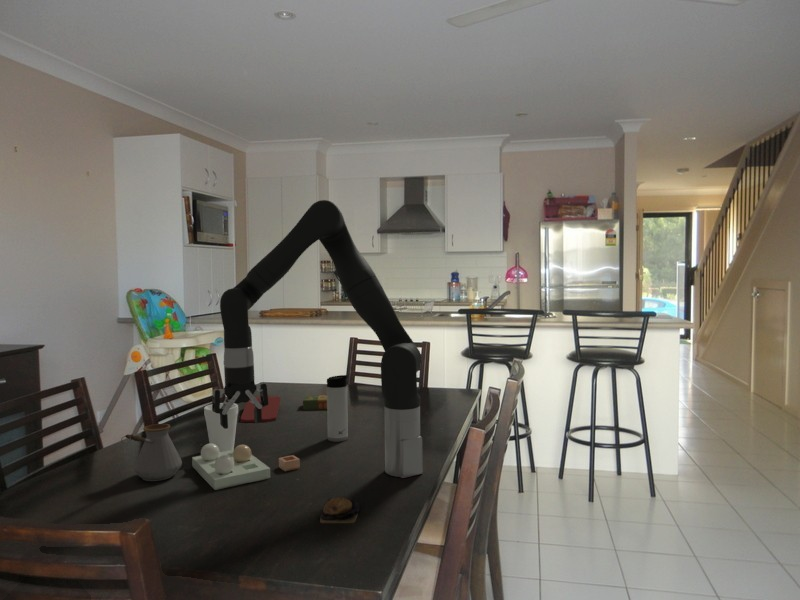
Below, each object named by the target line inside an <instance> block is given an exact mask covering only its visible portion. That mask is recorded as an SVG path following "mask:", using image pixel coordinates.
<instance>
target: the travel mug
mask: <svg viewBox="0 0 800 600" xmlns="http://www.w3.org/2000/svg"><path fill="white" fill-rule="evenodd" d="M348 378H349V375H348V374H342V375H341V374H340V375H333V376H330V377H328V378H326V395H327V409H326V410H327V411H326V412H327V413H326V416H327V418H326V419H327V420H326V421H327V441H329V442H332V443H340V442H341V443H342V442H345V441H347V440H348V439H349V434H348V433H349V431H348V429H349V428H348V427H349V426H348V425H349V423H348V418H349V417H348V385H347V384H348V380H347V379H348Z"/></svg>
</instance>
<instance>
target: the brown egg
mask: <svg viewBox="0 0 800 600" xmlns="http://www.w3.org/2000/svg"><path fill="white" fill-rule="evenodd" d="M233 450H234V451H233V458H234V460H235V461H236V462H238V463H242V462H247V461H248V460H249V459H250V457H251V454H252V449H251V448H250V447H249V446H248V445H247V444H239V445H237V446H236V447H234V449H233Z"/></svg>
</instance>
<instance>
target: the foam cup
mask: <svg viewBox="0 0 800 600" xmlns="http://www.w3.org/2000/svg"><path fill="white" fill-rule="evenodd" d="M223 403H224V402H220V408H221V407H222V405H223ZM203 412H204V417H205V423H206V429H207V435H208V436H207V437H208V442H209V443H213V444H215V445H217V446H218V448H219V451H220V452H224V451H229V450H234V449H235V441H236V440H235V439H236V432H237V431H236V430H237V422H238V414H239V405H238V404H235V403H234V404H233V405H232V407H231V408H230V409H229V410H228V412H227V413H226V414H227V416H228V428H227V429H224V428H223V427H222V426H221V424H220V414H219V413H215V412H213V411H212V404H208V405H206V406H204V408H203Z"/></svg>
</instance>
